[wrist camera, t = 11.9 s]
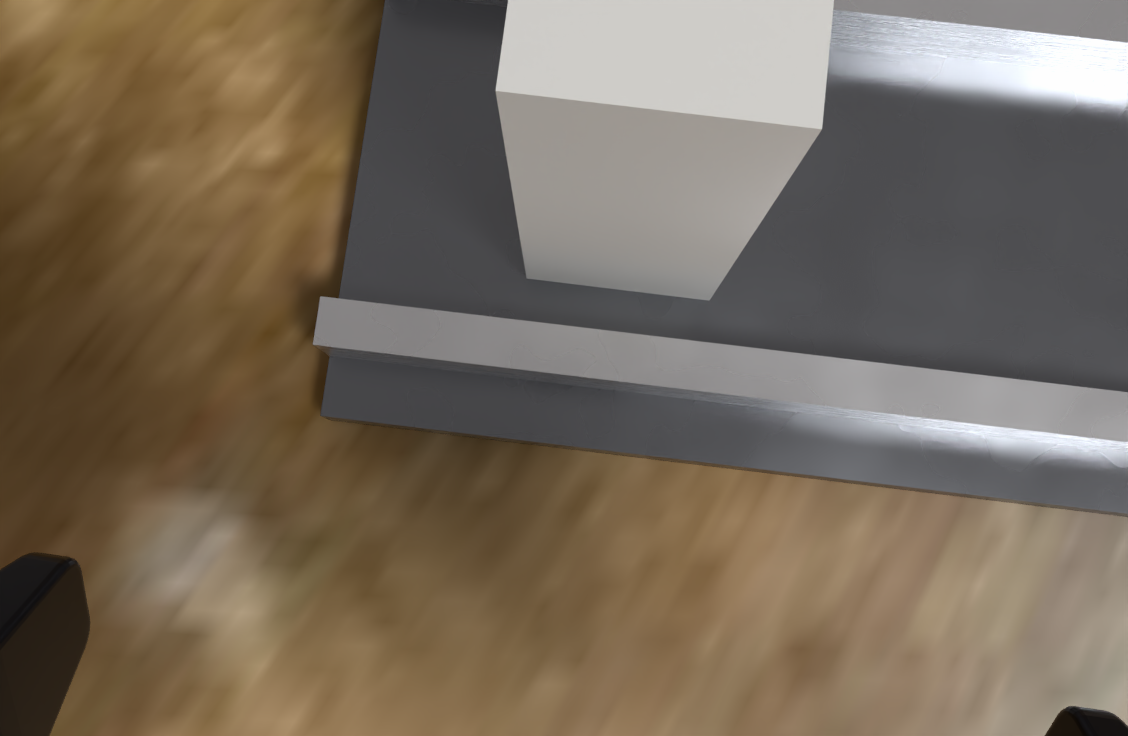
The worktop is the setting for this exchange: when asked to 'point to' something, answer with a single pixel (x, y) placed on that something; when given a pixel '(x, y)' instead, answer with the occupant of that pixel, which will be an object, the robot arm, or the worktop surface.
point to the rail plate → (780, 269)
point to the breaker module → (655, 132)
